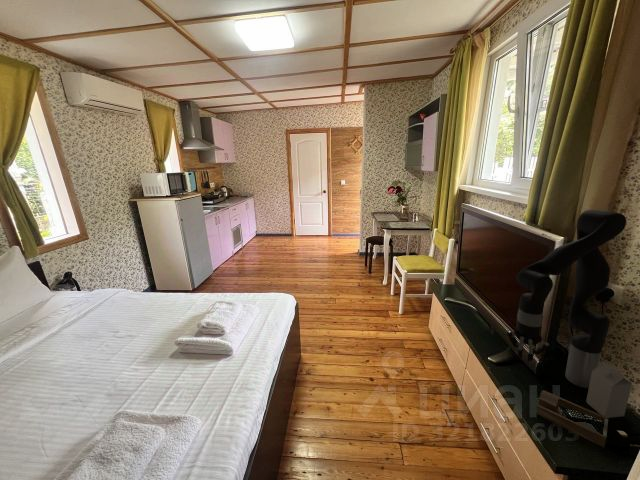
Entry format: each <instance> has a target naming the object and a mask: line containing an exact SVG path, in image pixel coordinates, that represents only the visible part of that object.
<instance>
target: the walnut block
mask: <svg viewBox="0 0 640 480" xmlns="http://www.w3.org/2000/svg"><path fill="white" fill-rule="evenodd" d="M544 391H545V390H544ZM544 391H543V390H542V391H541V393H540V395H539V399H538V403H537V405H540V406H542V407H544V408H547V409H549V410H551V411H553V412H555V413H556V410H557V406H558V400H559V398H558V397H559V396H558V397H555V396H553V395H554V394H553V395H551V394H552V393H551V394H548V393H546V392H547V391H546V392H544Z"/></svg>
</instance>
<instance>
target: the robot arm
mask: <svg viewBox="0 0 640 480" xmlns="http://www.w3.org/2000/svg"><path fill="white" fill-rule="evenodd" d="M576 222H577V223H576V240H573V241H570V242H568V243H565V244H562V245H559V246H558V247H556V248H554V249H552V250H551V251H550V252H549V253H548V254H547V255H545V256H544V257H543V258H542V259H541V260H539V261H536V262H534V263H531V264H530V265H528V266H526V267H524V268H523V269H520V271H519V272H518V273H517V275H516V282H517V284H518V285H520V286H521V287H523V288H525V289H528V290H530V291H531V292H525V293H522V294H521V295H520V299H519V306H518V311H517V316H516V326H515V328H516V329H514V330H510V329H509V330H508V331H507V333H506V336H507V338H508V339H509V341H510V342H511V345H512V346H513V347H514V348H517V349H518V353H517V356H518V357H519V359H523V357H524V352H525V348H524V347H525V345H528V354H527V362H532V361H533V359H534V356H535V355H536V356H539V355H540V354H542V353H544V352H545V351H546V350H548V349H549V348H550V345H551V343H549V342H548V341H544V339H543V337H542V330H543V320H544V314H543V313H544V308H545V303H546V300H547V298H548V296H549V294H550V293H551V291H552V290H553V288H554V282H553V280H552V278H551V277H550V276H559V275H561V274H562V273H563V272H564V271H566V270H567V269H568V268H569V267H571V266H572V265H573V264H574V263H576V265H575V269H574V271H575V272H574V273H575V274H574V286H573V287H574V288H573V296H572V301H571V305H570V310H569V315H568V323H569V324H568V325H569V326H571V327H572V328H574V329H576V330H579V331H580V332H583V333H585V334H582V333H581V334H574V335H572V336H571V338H570V343H569V350H568V356H567V362H566V363H567V364H566V369H565V374H564V376H565V379H567V381H569V382H570V383H571V384H573V385H575V386H577V387H580V388H583V389H589V385H590V380H591V375H592V371H593V370H594V369H596V368H597V367H598V366H600V362H601V357H602V353H603V352H602V351H603V348H604V346H605V343H606V340H607V339H606V338H607V336H608V331H609V328H610V324H611V323H610V322H611V321H610V319H609V317H608V316H606V315H604V314H601V313H599V312H596V311H593V310H590V309H588V308H587V304H588V302H589V301H590V300H591V299H592V298H593V297H595V296H597V295H598V294H600V293H601V292H602V291H604V290H605V289H606V288H608V285H609V283H610V275H611V268H610V266H609V263H608V261H607V259H606V258H605V256H604V254H603V253H602V252H601V250H600V247H601V246H603V245H605V244H606V243H608V242H609V241H611V240H614V239H615V238H616V237H618V236H619V235H620V234H621V233H622V232H623V231H624V229H625V228H626V225H627V217H625V215H624V214H622V213H619V212H615V211H608V210H607V211H606V210H598V209H586V210H584V211H583V212H581V213H580V215H579V216H578V218H577V221H576ZM587 334H588V335H587ZM517 339H518V340H517ZM518 341H519V342H518ZM538 344H540V345H539V347H537V348H536V349H535V346H536V345H538Z"/></svg>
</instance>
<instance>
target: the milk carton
mask: <svg viewBox="0 0 640 480" xmlns="http://www.w3.org/2000/svg"><path fill="white" fill-rule="evenodd" d="M632 386H633V383H632V382H630V381H629V380H628V379H627V378H626V375H625V374H623V373H622V372H620V371H619V370H618V369H616V368H614V367H613V366H611V365H609V364H608V363H607V362H605V360H604V361H602V362H601V364H599V366H598V367H597V368H596V369H594V370H593V371H592V375H591V380H590V385H589V388H588V391H587V396H586V401H585V403H586V404H587V405H588V406H590V407H591V408H592V409H594V411H596V413H597V414H599V415H602V416H604V417H606V418H608V419H612V418H618V417H619V418H620V417H625V414H626V410H627V406H628V402H629V399H630V393H631V390H632Z"/></svg>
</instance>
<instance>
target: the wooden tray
mask: <svg viewBox="0 0 640 480" xmlns="http://www.w3.org/2000/svg"><path fill="white" fill-rule="evenodd" d="M542 391H544V392H546V393H548V394H551V395H553V396H555V397H558V398H559V400H558V406H559V407H564V408H568V409H572V410H575V411H578V412H581V413H584V414H587V415H590V416H592V417H595V418H597V419H599V420H601V421H602V422H604V427H603V435H602V434H600V433H599V432H597V431H596V430H595V429H594V428H593V427H592V426H591V424H589V423H586V422H574V421H572V420H570V419H568V418H566V417H564V416H562V411H563V410H562V409H559V408H558V406H557V410H556V413H555V412H553V411H551V410H549V409H547V408H544V407H542V406H540V405H538V404H537V406H536V411H535V413H536V415H537V416H540V417H541V418H543V419H545V420H548V421H550V422H552V423H553V424H556V425H558V426H560V427H561V428H564V429H566V430H568V431H570V432H572V433H574V434H576V435H578V436H580V437H582V438H584V439H587V440H588V441H590V442H591V443H594V444H597V445H598V446H601V447H602V448H605V447H606V446H605V445H606V442H607V436H608V434H607V433H608V428H609V427H608V425H609V418H606V417H604V416H602V415H601V414H600V413H598V412H595V411H592V410H590V409H589V408H585V407H583V406H581V405H578V404H576V403H574V402H571V401H570V400H567V399H564V398H563V397H560V396H557V395H556V394H553V393H551V392H548V391H546V390H544V389H543V390H542Z"/></svg>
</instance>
